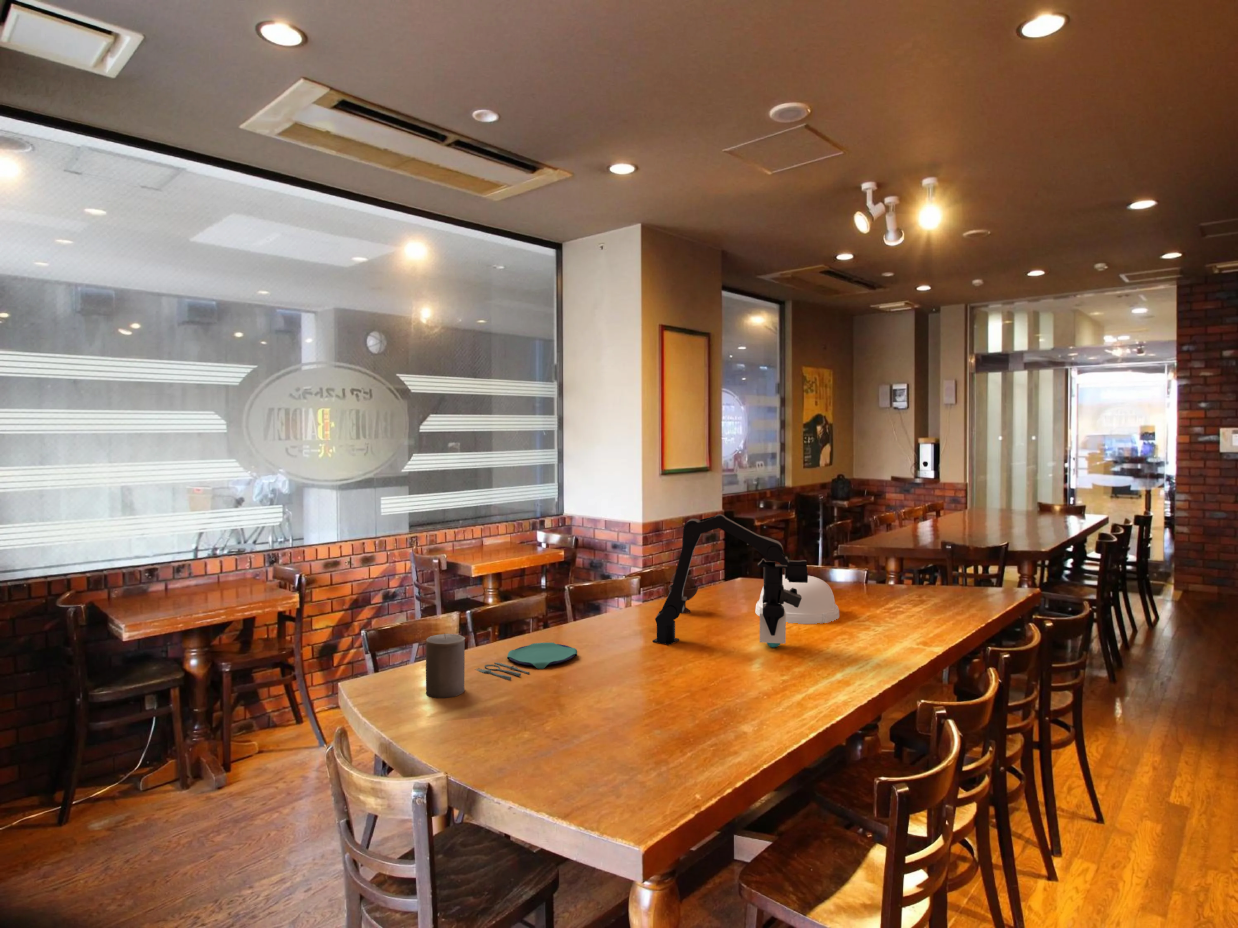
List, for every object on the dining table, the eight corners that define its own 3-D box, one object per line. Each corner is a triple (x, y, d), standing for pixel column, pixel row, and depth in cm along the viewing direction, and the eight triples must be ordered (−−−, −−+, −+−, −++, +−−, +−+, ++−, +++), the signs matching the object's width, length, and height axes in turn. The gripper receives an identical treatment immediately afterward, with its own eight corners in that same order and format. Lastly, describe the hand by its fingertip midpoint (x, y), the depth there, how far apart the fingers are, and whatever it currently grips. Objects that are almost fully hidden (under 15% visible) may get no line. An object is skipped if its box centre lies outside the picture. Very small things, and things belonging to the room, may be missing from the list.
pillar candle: (425, 699, 181) (426, 639, 180) (425, 686, 190) (425, 629, 189) (466, 696, 183) (466, 637, 183) (463, 683, 193) (463, 627, 192)
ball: (770, 632, 222) (767, 648, 223) (785, 634, 223) (782, 650, 224) (764, 627, 227) (761, 643, 227) (779, 629, 228) (776, 644, 228)
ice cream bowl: (688, 616, 264) (688, 575, 263) (662, 612, 270) (662, 571, 270) (703, 611, 272) (703, 571, 272) (678, 606, 279) (678, 567, 278)
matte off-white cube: (759, 642, 222) (759, 613, 222) (759, 635, 230) (759, 607, 230) (785, 643, 221) (785, 614, 221) (784, 636, 228) (784, 608, 228)
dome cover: (737, 609, 276) (737, 572, 276) (801, 601, 289) (801, 566, 288) (791, 629, 247) (791, 588, 247) (859, 619, 260) (859, 580, 259)
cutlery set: (590, 657, 216) (590, 649, 216) (512, 685, 193) (512, 676, 193) (544, 645, 229) (543, 638, 229) (466, 670, 206) (465, 662, 206)
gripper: (801, 588, 214) (801, 641, 215) (798, 576, 232) (798, 625, 233) (762, 587, 216) (762, 639, 217) (762, 575, 234) (762, 623, 235)
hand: (772, 631), depth 225 cm, fingers closed on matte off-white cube, 8 cm apart
